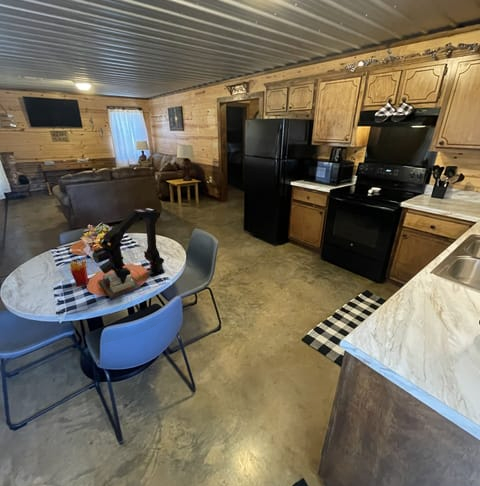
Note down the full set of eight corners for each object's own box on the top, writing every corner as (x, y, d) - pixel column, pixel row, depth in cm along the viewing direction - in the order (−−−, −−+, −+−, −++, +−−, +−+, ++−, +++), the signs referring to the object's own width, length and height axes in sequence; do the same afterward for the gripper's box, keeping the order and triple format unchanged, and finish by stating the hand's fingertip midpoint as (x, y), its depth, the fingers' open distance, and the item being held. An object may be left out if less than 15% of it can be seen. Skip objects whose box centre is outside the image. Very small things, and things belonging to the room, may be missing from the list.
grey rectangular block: (125, 273, 157) (123, 268, 156) (127, 277, 153) (126, 271, 152) (103, 280, 150) (102, 275, 148) (106, 284, 146) (104, 278, 145)
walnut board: (127, 272, 160) (126, 271, 160) (141, 288, 145) (140, 286, 145) (99, 282, 151) (98, 280, 150) (110, 299, 135) (110, 297, 135)
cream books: (130, 281, 149) (129, 275, 148) (134, 285, 145) (133, 280, 144) (110, 288, 143) (108, 282, 141) (113, 293, 139) (112, 287, 137)
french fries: (76, 281, 152) (70, 258, 146) (92, 278, 154) (87, 255, 149) (74, 289, 144) (67, 265, 138) (91, 286, 147) (84, 262, 141)
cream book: (128, 274, 147) (127, 271, 146) (132, 278, 143) (131, 275, 142) (109, 280, 141) (108, 277, 140) (113, 285, 137) (112, 281, 136)
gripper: (94, 254, 138) (100, 279, 144) (104, 267, 125) (111, 294, 131) (116, 248, 145) (121, 272, 151) (128, 259, 132) (133, 286, 138)
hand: (121, 281), depth 142 cm, fingers closed on cream book, 6 cm apart
